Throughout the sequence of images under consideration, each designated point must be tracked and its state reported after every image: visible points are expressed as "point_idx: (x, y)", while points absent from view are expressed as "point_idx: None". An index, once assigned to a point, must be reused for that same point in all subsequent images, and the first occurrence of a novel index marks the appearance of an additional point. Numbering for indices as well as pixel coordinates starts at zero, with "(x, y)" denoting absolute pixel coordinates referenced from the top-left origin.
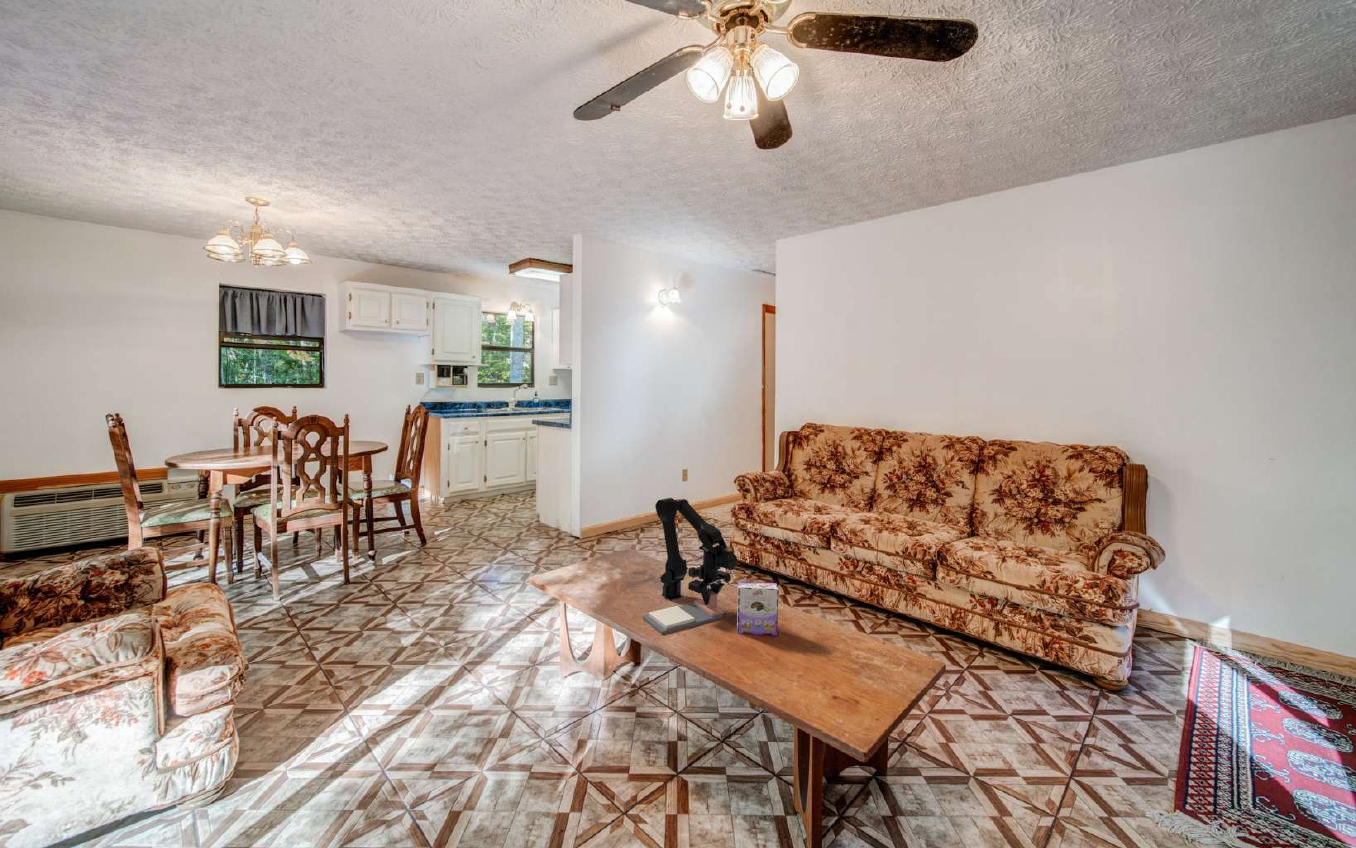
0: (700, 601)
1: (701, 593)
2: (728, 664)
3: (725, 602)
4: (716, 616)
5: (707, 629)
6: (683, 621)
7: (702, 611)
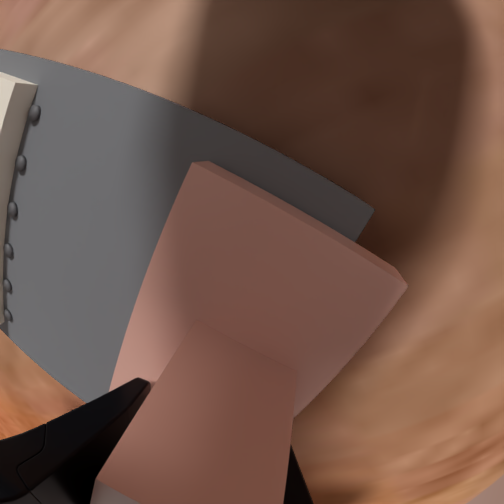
0: (253, 262)
1: (2, 448)
2: (5, 435)
3: (474, 385)
4: None
5: (37, 385)
6: None
7: (122, 333)
